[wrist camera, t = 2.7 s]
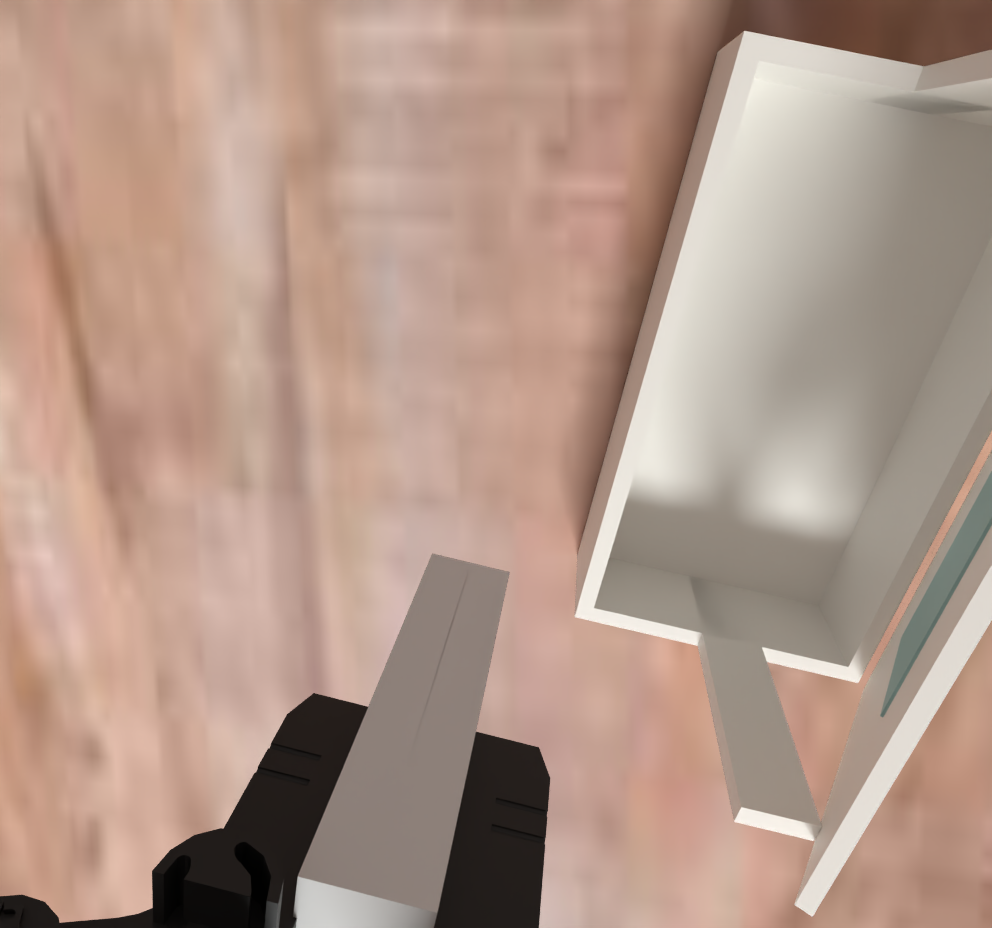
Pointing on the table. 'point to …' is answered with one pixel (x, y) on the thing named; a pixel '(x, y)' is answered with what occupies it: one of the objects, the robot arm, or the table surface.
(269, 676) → the table surface
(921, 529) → the box
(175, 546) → the table surface
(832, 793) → the lid
